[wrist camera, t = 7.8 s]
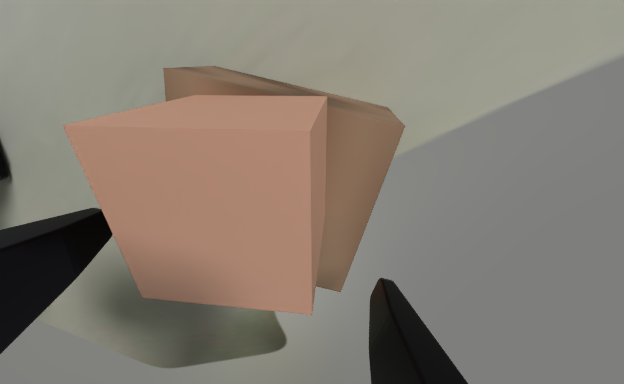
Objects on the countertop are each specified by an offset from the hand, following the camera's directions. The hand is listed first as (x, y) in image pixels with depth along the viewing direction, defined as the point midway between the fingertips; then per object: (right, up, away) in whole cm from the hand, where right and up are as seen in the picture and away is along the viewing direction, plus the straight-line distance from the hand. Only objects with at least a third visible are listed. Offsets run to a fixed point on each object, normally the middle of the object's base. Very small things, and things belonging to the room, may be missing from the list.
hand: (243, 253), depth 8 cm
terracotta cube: (0, +3, +2) cm, 4 cm away
